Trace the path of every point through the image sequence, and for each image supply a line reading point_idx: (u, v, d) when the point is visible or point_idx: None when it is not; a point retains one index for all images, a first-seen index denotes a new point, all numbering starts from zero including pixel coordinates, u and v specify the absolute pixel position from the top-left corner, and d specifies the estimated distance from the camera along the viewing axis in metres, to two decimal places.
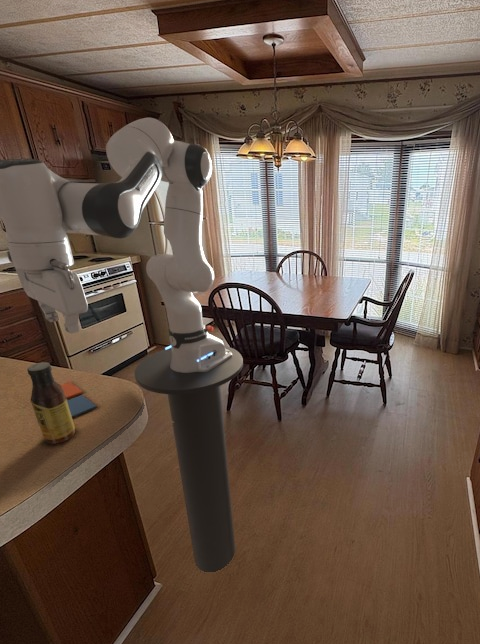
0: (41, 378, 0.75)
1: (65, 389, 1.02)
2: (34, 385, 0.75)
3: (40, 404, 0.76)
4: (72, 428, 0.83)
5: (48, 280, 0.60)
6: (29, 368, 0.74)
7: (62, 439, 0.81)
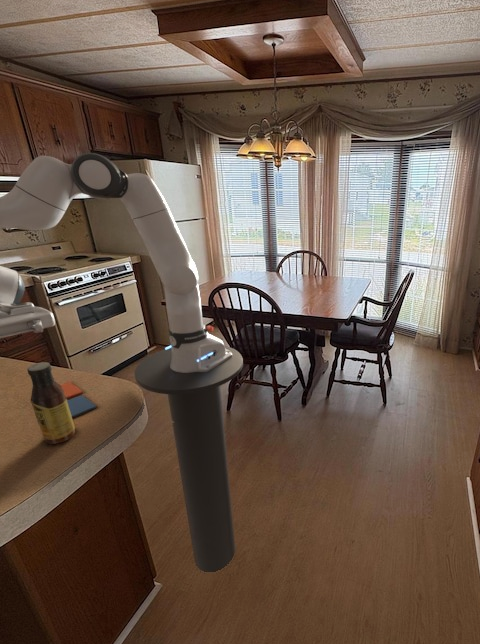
0: (41, 378, 0.75)
1: (65, 389, 1.02)
2: (34, 385, 0.75)
3: (40, 404, 0.76)
4: (72, 428, 0.83)
5: None
6: (29, 368, 0.74)
7: (62, 439, 0.81)
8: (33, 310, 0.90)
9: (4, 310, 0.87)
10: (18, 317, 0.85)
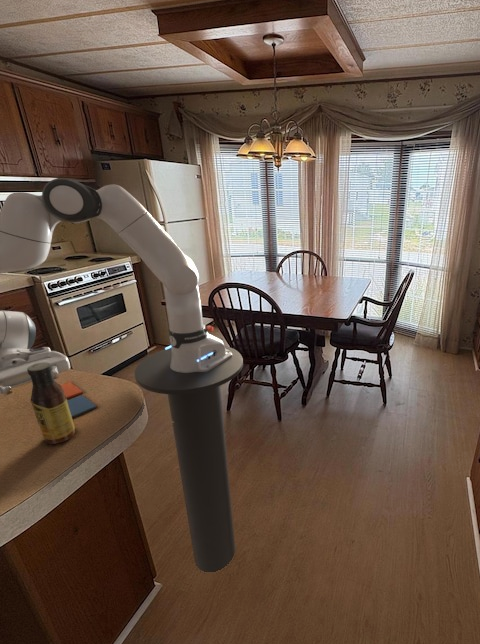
0: (41, 378, 0.75)
1: (65, 389, 1.02)
2: (34, 385, 0.75)
3: (40, 404, 0.76)
4: (72, 428, 0.83)
5: None
6: (29, 368, 0.74)
7: (62, 439, 0.81)
8: (50, 355, 0.94)
9: (23, 357, 0.91)
10: None
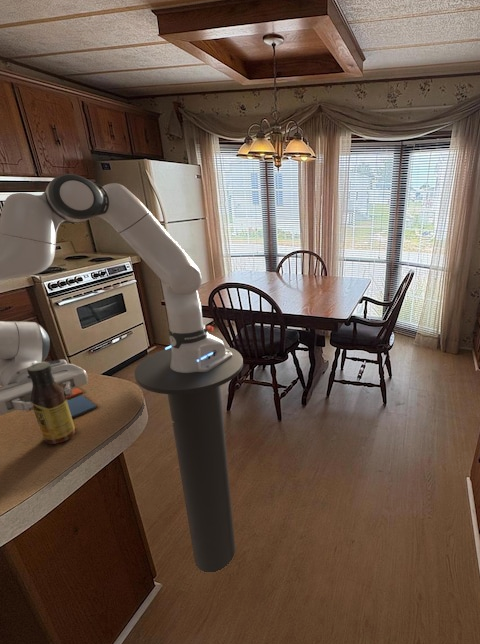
0: (41, 378, 0.75)
1: None
2: (34, 385, 0.75)
3: (40, 405, 0.76)
4: (72, 428, 0.83)
5: None
6: (29, 368, 0.74)
7: (62, 439, 0.81)
8: (67, 368, 0.89)
9: None
10: None
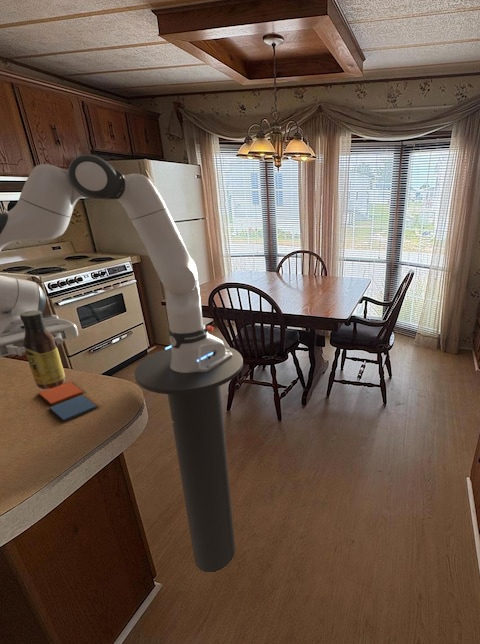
0: (33, 323, 0.81)
1: (65, 389, 1.02)
2: (27, 330, 0.81)
3: (32, 349, 0.82)
4: (62, 375, 0.89)
5: None
6: (22, 314, 0.80)
7: (53, 385, 0.87)
8: (58, 322, 0.94)
9: None
10: None
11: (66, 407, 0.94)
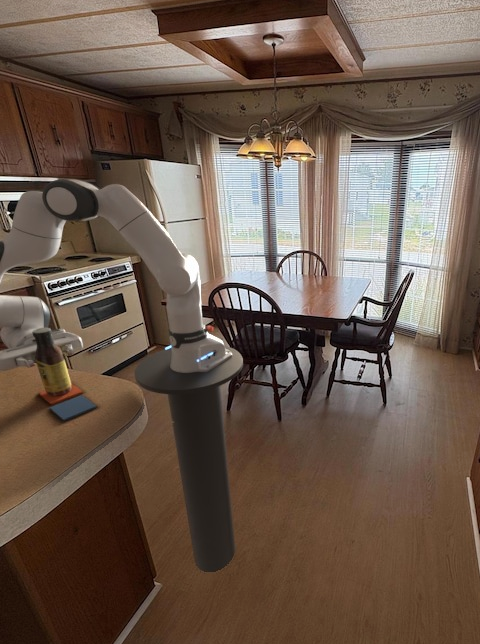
0: (44, 339, 0.92)
1: None
2: (38, 345, 0.93)
3: (43, 362, 0.93)
4: (69, 384, 1.00)
5: None
6: (34, 331, 0.92)
7: (61, 392, 0.98)
8: (65, 335, 1.06)
9: None
10: None
11: (66, 407, 0.94)
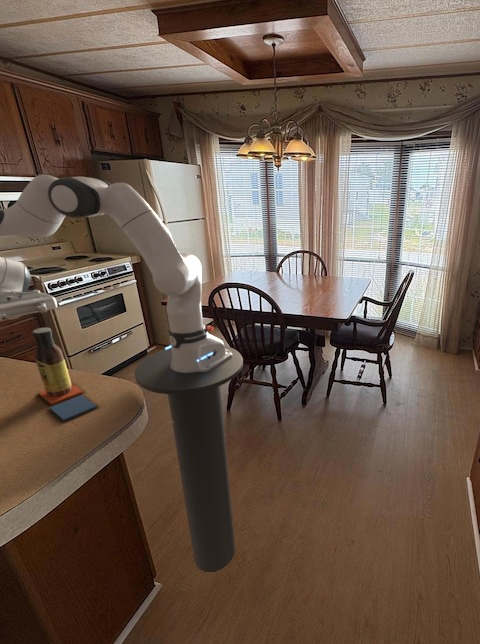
0: (44, 339, 0.92)
1: None
2: (38, 345, 0.93)
3: (43, 362, 0.93)
4: (69, 384, 1.00)
5: None
6: (34, 331, 0.92)
7: (61, 392, 0.98)
8: (40, 295, 1.09)
9: (16, 295, 1.06)
10: (27, 300, 1.04)
11: (66, 407, 0.94)
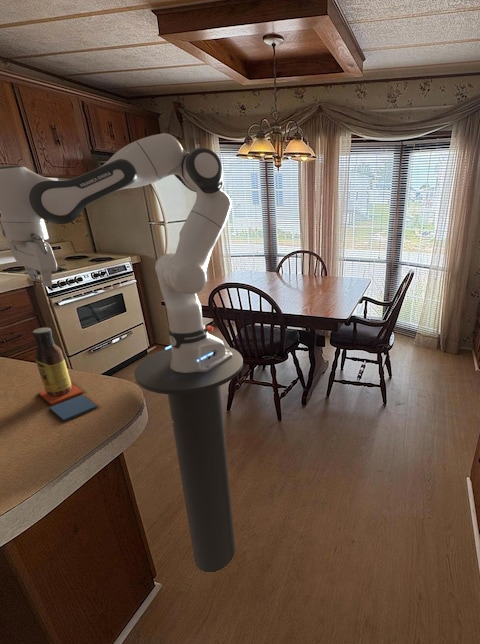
0: (44, 339, 0.92)
1: None
2: (38, 345, 0.93)
3: (43, 362, 0.93)
4: (69, 384, 1.00)
5: (29, 248, 0.89)
6: (34, 331, 0.92)
7: (61, 392, 0.98)
8: None
9: None
10: None
11: (66, 407, 0.94)
